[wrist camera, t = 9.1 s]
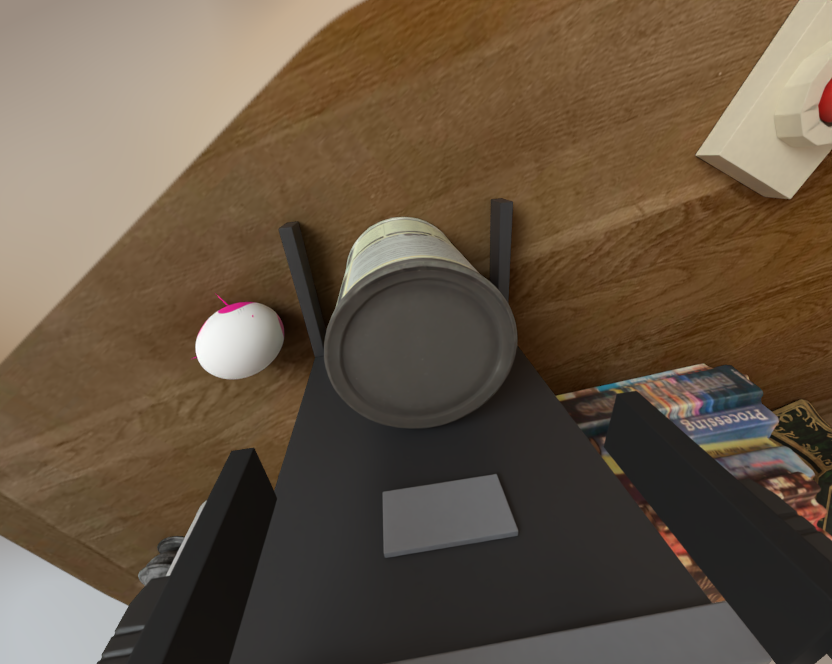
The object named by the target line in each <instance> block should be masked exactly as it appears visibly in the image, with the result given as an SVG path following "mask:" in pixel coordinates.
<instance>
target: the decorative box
mask: <svg viewBox="0 0 832 664" xmlns="http://www.w3.org/2000/svg"><path fill="white" fill-rule="evenodd" d="M773 413H774V414H775V415H776V416H777V417H778V419H779V423H778V424H777V425H776V427H775V429H774V430H773V432H772V433H771V436H770V437H769V440H770V441H772V442H773V443H774V444H776V445H777V446H786V447H788V448H790V449H791V450H792V451H793V452H794V453H795V454H796V455H797V456H798V457H799V458H800V459H801V460H802V461H803V462H804V463H805V464H806V465H807V466H808V467H810V468H811V469H812V470H813V472H814V474H815V476H814V477H813V478H812V479H813V480H814V481H815V482H816V483H817V484H818V485H819V486H820V488H821V490H820V492H819V493H817V494H816V495H815V497H814V498H815V500H816V501H817V502H818V503H819V504H821V505H822V506H823V507H824V508H825V509H827V515H826V516H825V517H824V518H821V519H820V520H819V521H818V522H817V526H818V527H819V528H821V529H823V530H824V531H826V532H827V533H829V534H830V535H831V536H832V427H831V426H830V425H829V424H827V423H826V422H825V421H824V420H823V419H822V418H821V416H820V415H819V414H818V412H817V411H816V410H815V408H814V407H813V406H812V404H811V403H810V402H809V401H807V400H802V399H801V400H799V401H796V402H794V403H792V404H789V405H787V406H785V407H782V408H780V409H778V410H775V411H773Z"/></svg>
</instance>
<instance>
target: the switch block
mask: <svg viewBox="0 0 832 664" xmlns="http://www.w3.org/2000/svg"><path fill="white" fill-rule="evenodd" d="M831 78H832V0H799V2H798V3H797V5H796V6H795V8H794V9H793V11H792V12H791V14H790V15H789V17H788V18H787V20H786V21H785V23H784V24H783V26H782V27H781V28H780V30H779V31H778V33H777V34H776V36H775V37H774V39H773V40H772V42H771V43H770V45H769V46H768V48H767V49H766V51H765V52H764V54H763V55H762V57H761V58H760V60H759V61H758V63H757V64H756V66H755V67H754V69H753V70H752V72H751V73H750V75H749V76H748V78H747V79H746V81H745V82H744V84H743V85H742V87H741V88H740V90H739V91H738V93H737V94H736V95H735V97H734V98H733V100H732V101H731V103H730V104H729V106H728V107H727V109H726V110H725V112H724V113H723V115H722V116H721V118H720V119H719V121H718V122H717V124H716V125H715V127H714V128H713V130H712V131H711V133H710V134H709V136H708V137H707V139H706V140H705V142H704V143H703V145H702V146H701V148H700V149H699V151H698V152H697V154H696V156H697V157H699V158H701V159H702V160H704V161H705V162H707V163H709V164H710V165H712V166H714V167H715V168H717V169H719V170H720V171H722V172H724V173H725V174H727V175H729V176H730V177H732V178H734V179H735V180H737V181H739V182H740V183H742V184H744V185H745V186H747V187H749V188H750V189H752V190H754V191H755V192H757V193H759V194H760V195H762V196H764V197H772V198H783V199H791V198H792V197H793V196H794V194H795V193H796V192H797V191H798V189H799V188H800V187H801V186H802V185H803V183H804V182H805V181H806V180H807V179H808V177H809V176H810V175H811V174H812V172H813V171H814V170H815V169H816V168H817V166H818V165H819V164H820V163H821V162H822V160H823V159H824V158H825V157H826V155H827V154H828V153H829V152H830V151H831V149H832V122H825V121H823V120H821V119H820V117H819V108H818V105H819V102H820V99H821V97H822V94H823V91H824V88H825V86H826V85H827V83H828V82H829V81H830V79H831Z"/></svg>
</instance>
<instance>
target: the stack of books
mask: <svg viewBox="0 0 832 664" xmlns="http://www.w3.org/2000/svg"><path fill="white" fill-rule="evenodd" d="M631 391H638V392H639V393H640V394H641V395H642V396H643V397H644V398H646V399H647V400H648V401H649V402H650V403H651V404H652V405H653V406H655V407H656V408H657V409H658V410H659V411H660V412H661V413H663V414H664V415H665V416H666V417H667V418H668V419H669V420H671V421H672V422H673V423H674V424H675V425H676V426H677V427H678V428H680V429H681V430H682V431H683V432H684V433H685V434H686V435H688V436H689V437H690V438H691V439H692V440H693V441H694V442H696V443H697V444H698V445H699V446H700V447H701V448H702V449H703V450H705V451H706V452H707V453H708V454H709V455H710V456H711V457H713V458H714V459H715V460H716V461H717V462H718V463H719V464H721V465H722V466H723V467H724V468H725V469H726V470H727V471H728V472H730V473H731V474H732V475H733V476H734V477H735V478H736V479H738V480H740V479H746V478H749V479H751V480H753V481H755V482H756V483H758V484H760V485H762V486H763V487H765V488H767V489H769V490H770V491H772V492H774V493H775V494H776V495H778V496H779V497H780V498H781V499H782V500H784V501H785V502H786V503H787V504H788V505H790V506H791V507H792V508H793V509H794V510H796V511H797V514H798V515H800V516H801V515H802V516H803V517H804V518H805V519H806V520H808V521H809V522H810V523H811V524H812V525H814V526H815V527H816V530H817V531H819V532H822V533H823V534H825V535H826V536H827V537H828V538H829V539H831V540H832V536H831V535H830V534H829V533H827V532H826V531H824V530H823V529H821V528H819V527H818V526H817V522H818V521H819V520H820V519H821V518H824V517H825V516H826V515H827V509H825V508H824V507H823V506H822V505H821V504H819V503H818V502H817V501H816V500H815V498H814V497H815V495H816V494H817V493H819V492H820V490H821V488H820V486H819V485H818V484H817V483H816V482H815V481H814V480H813V479H812V478H813V477H814V476H815V474H814V472H813V470H812V469H811V468H810V467H808V466H807V465H806V464H805V463H804V462H803V461H802V460H801V459H800V458H799V457H798V456H797V455H796V454H795V453H794V452H793V451H792V450H791V449H790V448H788V447H786V446H777V445H776V444H774V443H773V442H772V441H770V440H769V437H770V436H771V433H772V432H773V430H774V429H775V427H776V425H777V424H778V423H779V419H778V417H777V416H776V415H775V414H774V413H773V412H772V411H770V410H769V409H768V408H766V407H765V406H764V405H763V404H762V403H761V397H762V396H763V391H762V390H761V389H760V388H759V387H758V386H757V385H755V384H754V383H753V382H751V381H750V380H749V377H748V376H747V375H746V374H742V373H740V372H739V371H738V370H736V369H735V368H734V367H733V366H731V365H722V366H718V367H715V368H711V367H709V366H707V365H705V364H698V365H693V366H689V367H685V368H680V369H675V370H671V371H666V372H662V373H657V374H653V375H648V376H644V377H640V378H635V379H630V380H626V381H621V382H617V383H612V384H608V385H603V386H598V387H594V388H589V389H585V390H580V391H576V392H572V393H566V394H561V395H557V396H556V397H557V399H558V400H559V401H560V403H561V404H562V405H563V406H564V408H565V409H566V410H567V412H568V413H569V414H570V416H571V417H572V418H573V420H574V421H575V422H576V424H577V425H578V426H579V428H580V429H581V430H582V432H583V433H584V434H585V436H586V437H587V438H588V440H589V441H590V442H591V443H592V445H593V446H594V447H595V449H596V450H597V451H598V453H599V454H600V455H601V457H602V458H603V459H604V461H605V462H606V463H607V465H608V466H609V467H610V469H611V470H612V471H613V473H614V474H615V475H616V476H617V478H618V479H619V480H620V482H621V483H622V484H623V486H624V487H625V488H626V490H627V491H628V492H629V494H630V495H631V496H632V498H633V499H634V500H635V502H636V503H637V504H638V506H639V507H640V508H641V510H642V511H643V512H644V513H645V515H646V516H647V517H648V519H649V520H650V521H651V523H652V524H653V525H654V527H655V528H656V529H657V531H658V532H659V533H660V535H661V536H662V537H663V539H664V540H665V541H666V543H667V544H668V545H669V547H670V548H671V549H672V550H673V552H674V553H675V554H676V556H677V557H678V558H679V560H680V561H681V562H682V564H683V565H684V566H685V568H686V569H687V570H688V572H689V573H690V574H691V576H692V577H693V578H694V580H695V581H696V582H697V583H698V585H699V586H700V587H701V589H702V590H703V591H704V593H705V594H706V595H707V597H708V598H709V599H710V601H711V602H712V603H715V602H721V601H726V600H725V599H724V598H723V597H722V595H721V594H720V593H719V591H718V590H717V589H716V588H715V586H714V585H713V584H712V583H711V581H710V580H709V579H708V578H707V576H706V575H705V574H704V573H703V571H702V570H701V569H700V568H699V566H698V565H697V564H696V563H695V561H694V560H693V559H692V558H691V556H690V555H689V554H688V553H687V551H686V550H685V549H684V548H683V546H682V545H681V544H680V543H679V541H678V540H677V539H676V537H675V536H674V535H673V534H672V532H671V531H670V530H669V529H668V527H667V526H666V525H665V524H664V522H663V521H662V520H661V519H660V517H659V516H658V515H657V514H656V512H655V511H654V510H653V509H652V507H651V506H650V505H649V504H648V502H647V501H646V500H645V499H644V497H643V496H642V495H641V494H640V492H639V491H638V490H637V489H636V487H635V486H634V485H633V483H632V482H631V481H630V480H629V478H628V477H627V476H626V475H625V473H624V472H623V471H622V470H621V468H620V467H619V466H618V465H617V463H616V462H615V461H614V460H613V458H612V457H611V456H610V455H609V453H608V452H607V451H606V450H605V448H604V443H605V439H606V435H607V431H608V427H609V423H610V419H611V415H612V411H613V407H614V403H615V399H616V395H617V394H618V393H625V392H631Z"/></svg>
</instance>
